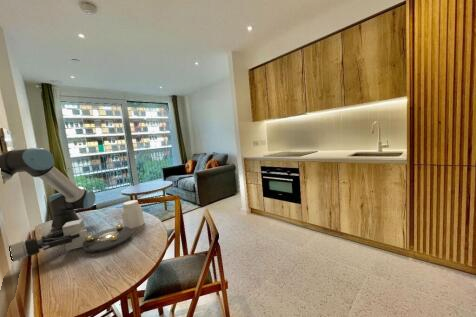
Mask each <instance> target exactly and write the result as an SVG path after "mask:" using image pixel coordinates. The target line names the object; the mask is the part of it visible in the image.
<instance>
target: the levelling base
mask: <svg viewBox="0 0 476 317" xmlns="http://www.w3.org/2000/svg"><path fill="white" fill-rule="evenodd" d="M115 226H116V227H113V228H109V229H105V230H101V231H98V232H97V233H95V234H92V235H91V234H90V235H86V237H85V241H84V242H83V247H82V248H83V251H84V252H85V251H86V252H87V253H88V252H89V253H98V252H101V251H105V250H108V249H112V248H114V247H117V246H119V245H121V244H123V243H124V242H126V241H127V240H129V239H130V238H131V236H132V234H133V232H132V229H130V228H128V227H124V225H123V223H121V224H118V225H115Z"/></svg>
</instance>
